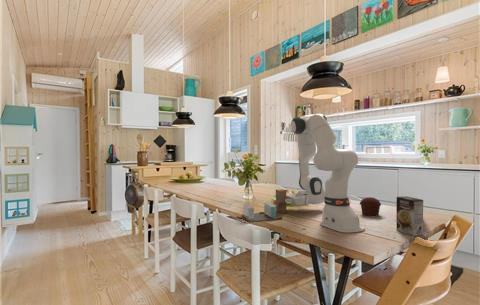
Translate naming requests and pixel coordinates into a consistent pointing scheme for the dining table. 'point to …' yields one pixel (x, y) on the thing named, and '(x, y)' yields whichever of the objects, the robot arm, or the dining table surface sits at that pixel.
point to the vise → (254, 214)
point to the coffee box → (410, 215)
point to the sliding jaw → (270, 210)
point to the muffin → (370, 206)
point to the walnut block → (280, 201)
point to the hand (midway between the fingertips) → (281, 199)
